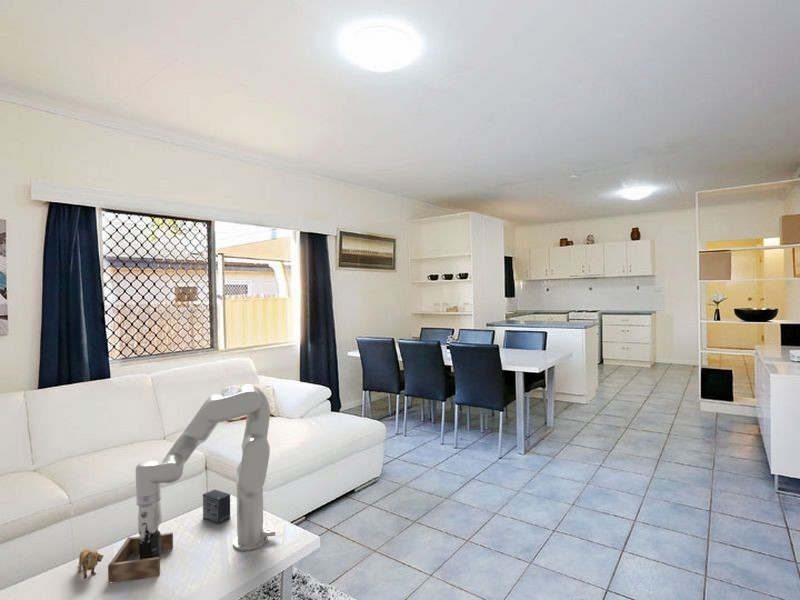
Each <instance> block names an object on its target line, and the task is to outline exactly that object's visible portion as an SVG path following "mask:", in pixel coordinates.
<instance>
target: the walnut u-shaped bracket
mask: <svg viewBox="0 0 800 600" xmlns="http://www.w3.org/2000/svg"><path fill="white" fill-rule="evenodd" d="M139 537H140V535H139V536H131V537H127V539H126V540H125V541H124V543H123V544H122V545H121V546H120V549H119V550H118V551H117V553H116V554H115V555H114V557H113V558H112V560H111V561H110V562H109V564H108V565H107V566H108V567H107V569H108V571H107V575H108V583H110V582H117V583H122V582H123V581H124V582H130V581H137V580H145V579H152V578H159V577H160V575H161V564H160V563H161V557H155V558H147V559H140V560H139V559H134V560H129V559H130V557H131V556H134V555H135V556H136V555H138V556H139ZM172 549H174V532H166V533H161V552H168V550H169V551H173V550H172ZM110 584H111V583H110Z"/></svg>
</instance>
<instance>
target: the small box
mask: <svg viewBox="0 0 800 600" xmlns="http://www.w3.org/2000/svg"><path fill="white" fill-rule="evenodd" d="M229 518H230V519H231V493H227V492H224V491H221V490H217V489H212V490H210V491H208V492H205V493H203V494H202V519H203V520H206V521H208V522H211V521H212V522H211V523H214V522H215V523H214V524H216V523H217V525H220V524H221V523H224V522H226V521H227V519H228V520H230V519H229ZM225 520H226V521H225ZM223 521H224V522H223Z"/></svg>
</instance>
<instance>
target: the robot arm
mask: <svg viewBox="0 0 800 600" xmlns="http://www.w3.org/2000/svg"><path fill="white" fill-rule="evenodd" d="M244 416H246V422H245V429H244V434H243V439H242V442H241V452H242V457H241V461H240V462H239V464H238V465H237V467H236V470H235V482H236V484H235V485H236V527H237V528H236V531H237V534H236V537H235V538H234V539H233V542H232V546H233V548H234V549H235V550H237V551H242V552H243V551H244V552H245V551H247V550H248V551H253V550H257V549H259V548H261V547H263V546H264V545H265V544H266V543H267V542H268V540H269V539H268V537H275V536H276V530H273V527H272V528H266V527H265V526H266V525H265V524H264V490H263V489H264V485H265V482H266V478H267V472H268V466H269V459H270V452H271V451H270V443H269V441H268V433H269V428H270V427H269V426H270V420H271V408H270V404H269V401H268V398H267V396H266V395H265V393H264V392H263V391H262V390H261V389H260V388H258V387H257V386H256V385H252V384H244V385H242V386H241V387H240V388H239V389H238V390H237V392H236V394H233V395H228V396H223V395H221V394H212V395H210V396H209V397H208V398H207V399H206V400H205V401H204V402H203V404H202V406H201V407H200V408H199V410H198V411H197V412H196V414H195V415H194V417H193V418H192V420H191V421H190V423H189V424H188V425H187V426H186V428H185V429H184V430H183V432H182V434H181V435H180V436H179V438H177V439H176V441H175V442H174V443H173V445H172V447H171V448H170V449H169V451H168V452H167V454H166V455H165V457H164V458H163V460H162V463H160V462H159V461H157V460H153V459H152V460H145V461H142V462H141V463H138V464H137V465H136V466H135V494H136V495H135V497H136V499H135V501H136V506H138V513H137V515H138V516H137V517H138V521H137V525H138V527H137V530H138V531H137V532H138V535H139V536H140V541H141V554H142V555H143V554H150V553H151V552H152V542H151V541H150V539H151V533H152V534H153V533H154V532H155V531H156V530H159V527H160V526H161V523H162V519H163V517H162V507H161V499H162V498H161V497H162V495H161V493H162V491H161V484H172V483H176V482H178V481H179V479H181V478H182V476H183V473H184V467H185V464H186V463H187V461H188V459H189V458H190V457H191V455H193V453H194V451H195V450H196V449H197V448H198V447H199V446H200V445H201V444H203V443H205V442H206V441H207V440H209V439H208V438H209V437H211V435H212V433H213V431H215V428H216V427H217V426H218V424H219V423H223V422H226V421H231V420H234V419H236V418H240V417H244ZM157 528H158V529H157ZM146 531H148V532H149V533H146ZM145 535H148V538H147V537H146V536H145ZM267 539H268V540H267ZM266 541H267V542H266ZM265 542H266V543H265ZM264 543H265V544H264ZM263 544H264V545H263ZM260 546H261V547H260ZM258 547H259V548H258ZM256 548H257V549H256Z"/></svg>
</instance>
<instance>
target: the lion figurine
mask: <svg viewBox="0 0 800 600" xmlns="http://www.w3.org/2000/svg"><path fill="white" fill-rule="evenodd" d="M103 558H104V555H103V554H100V553H98V550H91V549H88V548H87V549H86V548H85V549H83V550H82V551H81V552H80V554H79V557H78V560H79V561H78V570H77V573H78V572H79V573H81V572H82V575H83V577H82V580H83V579H86V578H87V579H88V574H87V572H88V571H90V575H91V576H95V575H96V574H97V572H95V568H96V567H97V565H98V562H102V559H103ZM87 579H86V580H87Z"/></svg>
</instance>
